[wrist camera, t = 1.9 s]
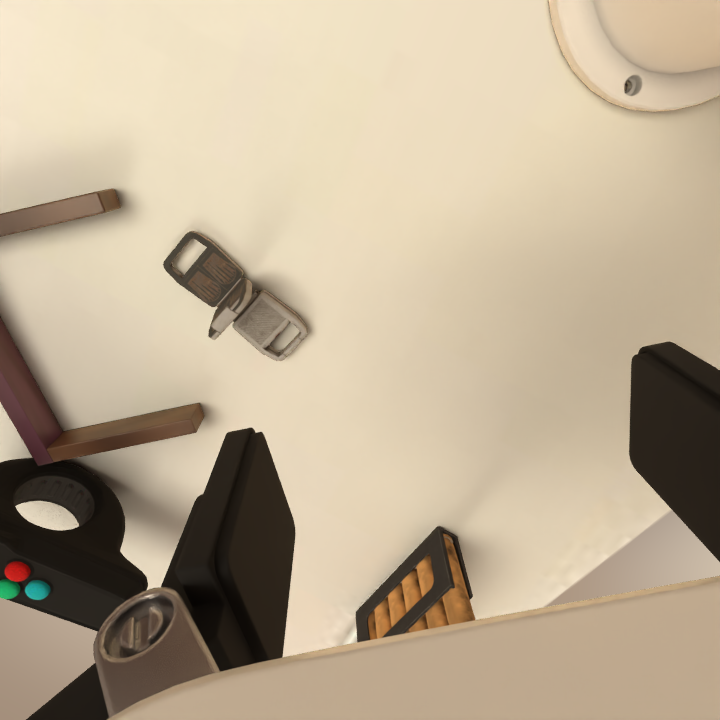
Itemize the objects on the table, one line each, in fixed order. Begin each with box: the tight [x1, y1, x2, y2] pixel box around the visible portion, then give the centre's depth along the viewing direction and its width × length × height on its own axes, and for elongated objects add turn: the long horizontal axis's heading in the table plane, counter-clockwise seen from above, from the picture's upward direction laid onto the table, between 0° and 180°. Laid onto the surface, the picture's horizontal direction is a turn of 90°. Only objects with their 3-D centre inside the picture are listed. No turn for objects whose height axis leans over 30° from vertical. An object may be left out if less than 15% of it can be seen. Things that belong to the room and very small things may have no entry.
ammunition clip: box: [356, 527, 475, 642], centre depth 32 cm, size 11×2×12 cm, turn 145°
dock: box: [0, 189, 204, 466], centre depth 27 cm, size 10×14×2 cm
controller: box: [0, 458, 148, 631], centre depth 28 cm, size 4×12×10 cm, turn 55°
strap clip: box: [163, 231, 308, 361], centre depth 26 cm, size 8×3×4 cm, turn 46°
